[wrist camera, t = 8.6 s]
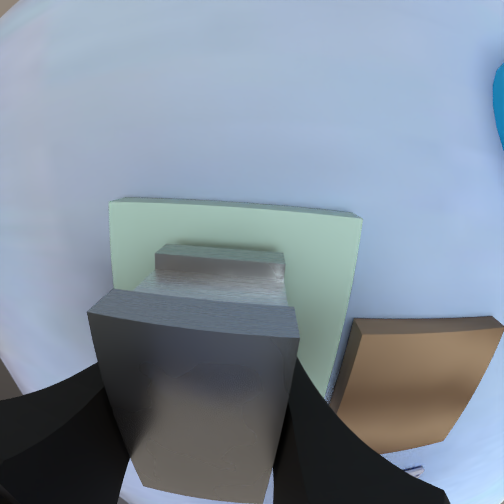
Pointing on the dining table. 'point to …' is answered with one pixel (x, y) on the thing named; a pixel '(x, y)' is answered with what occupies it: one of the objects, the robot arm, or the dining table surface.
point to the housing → (200, 369)
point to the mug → (499, 101)
